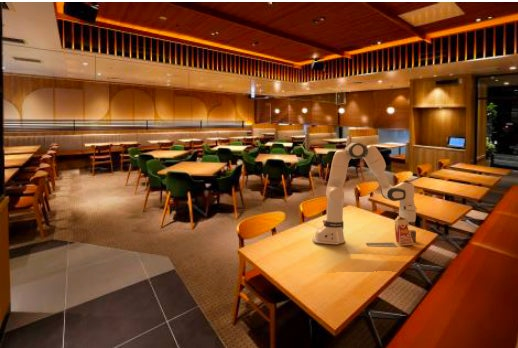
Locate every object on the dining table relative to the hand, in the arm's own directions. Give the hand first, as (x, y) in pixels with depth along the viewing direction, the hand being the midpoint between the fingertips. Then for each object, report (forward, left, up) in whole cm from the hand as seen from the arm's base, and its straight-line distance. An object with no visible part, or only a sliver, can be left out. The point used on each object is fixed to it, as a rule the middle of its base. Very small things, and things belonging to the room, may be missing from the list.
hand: (406, 225), depth 194 cm
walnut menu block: (+6, +6, -13) cm, 16 cm away
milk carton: (-1, 0, -12) cm, 12 cm away
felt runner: (-17, -2, -13) cm, 22 cm away
